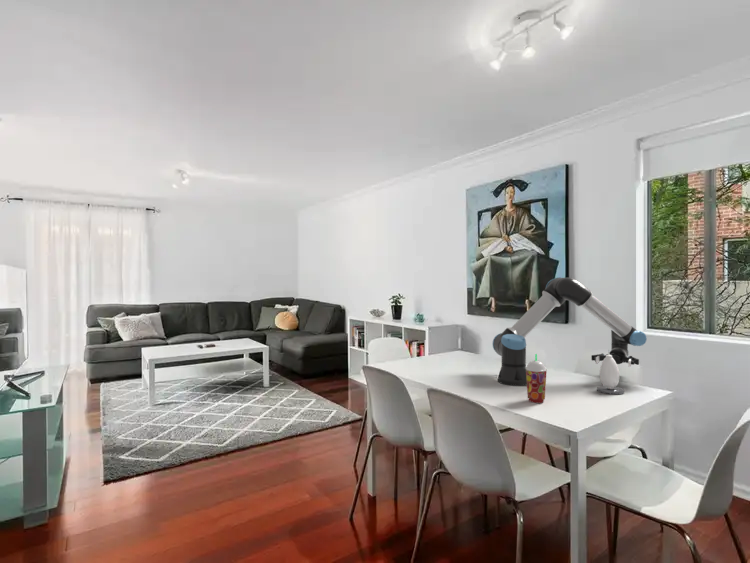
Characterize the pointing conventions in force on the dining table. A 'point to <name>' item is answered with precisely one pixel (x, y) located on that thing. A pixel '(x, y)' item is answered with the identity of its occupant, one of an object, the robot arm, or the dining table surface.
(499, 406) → the dining table surface
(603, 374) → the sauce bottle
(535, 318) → the robot arm
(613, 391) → the hub disc
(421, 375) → the dining table surface
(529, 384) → the smoothie
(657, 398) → the dining table surface
